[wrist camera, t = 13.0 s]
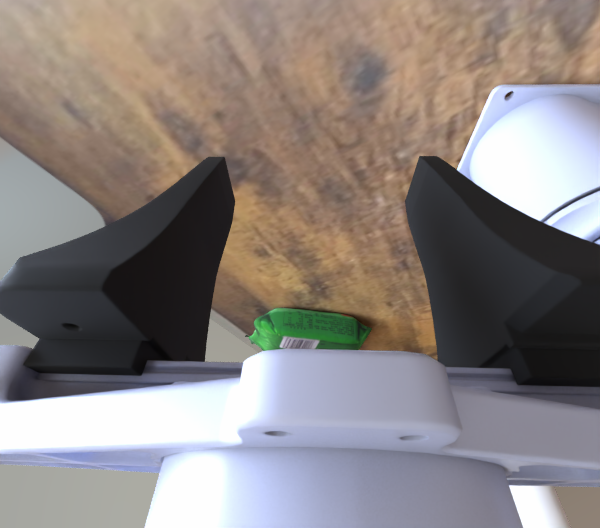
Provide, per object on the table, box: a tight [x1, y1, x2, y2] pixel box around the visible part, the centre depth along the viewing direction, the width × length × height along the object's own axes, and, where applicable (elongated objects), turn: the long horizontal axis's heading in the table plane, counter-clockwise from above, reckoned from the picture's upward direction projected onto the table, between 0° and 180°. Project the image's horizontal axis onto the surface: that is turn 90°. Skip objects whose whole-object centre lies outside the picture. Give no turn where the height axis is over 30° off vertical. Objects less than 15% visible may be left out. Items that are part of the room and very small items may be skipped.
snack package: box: [245, 308, 372, 351], centre depth 39 cm, size 7×16×5 cm, turn 80°
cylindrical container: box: [509, 486, 571, 528], centre depth 44 cm, size 7×7×25 cm
